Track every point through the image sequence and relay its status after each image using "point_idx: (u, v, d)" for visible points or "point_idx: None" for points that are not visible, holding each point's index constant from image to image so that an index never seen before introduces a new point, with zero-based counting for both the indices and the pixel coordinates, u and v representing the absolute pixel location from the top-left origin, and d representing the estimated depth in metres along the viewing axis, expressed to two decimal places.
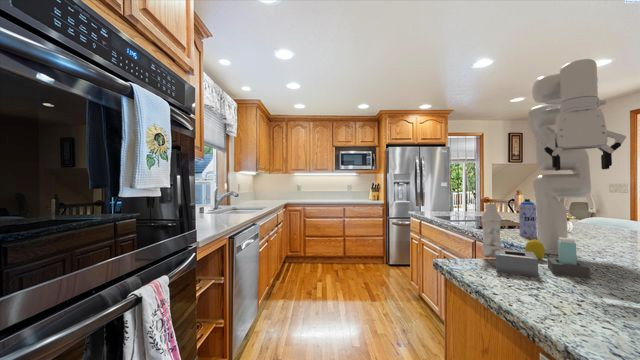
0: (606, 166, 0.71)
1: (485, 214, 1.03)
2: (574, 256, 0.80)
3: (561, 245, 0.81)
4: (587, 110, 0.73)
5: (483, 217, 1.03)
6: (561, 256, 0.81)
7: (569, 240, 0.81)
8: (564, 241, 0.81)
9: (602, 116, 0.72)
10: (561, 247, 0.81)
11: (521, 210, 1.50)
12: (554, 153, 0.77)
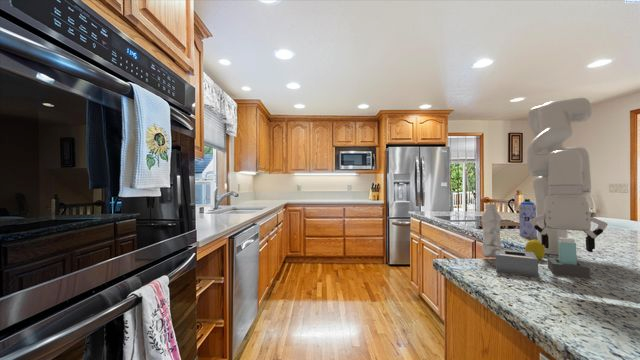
0: (590, 250, 0.78)
1: (485, 214, 1.03)
2: (574, 256, 0.80)
3: (561, 245, 0.81)
4: (572, 197, 0.80)
5: (483, 217, 1.03)
6: (561, 256, 0.81)
7: (569, 240, 0.81)
8: (564, 241, 0.81)
9: (586, 204, 0.79)
10: (561, 247, 0.81)
11: (521, 210, 1.50)
12: (543, 232, 0.84)
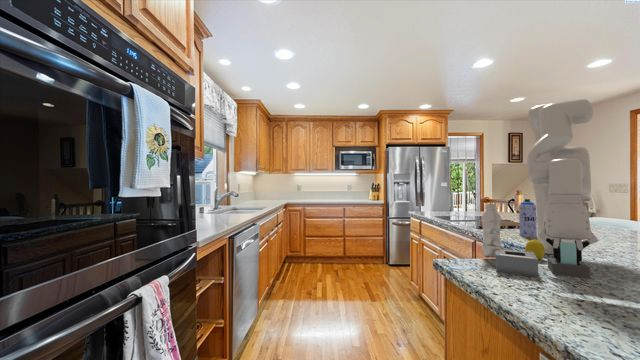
0: (577, 262, 0.80)
1: (485, 214, 1.03)
2: (574, 256, 0.80)
3: (561, 245, 0.81)
4: (573, 206, 0.80)
5: (483, 217, 1.03)
6: (561, 256, 0.81)
7: (569, 240, 0.81)
8: (564, 241, 0.81)
9: (586, 213, 0.79)
10: (561, 247, 0.81)
11: (521, 210, 1.50)
12: (555, 246, 0.83)
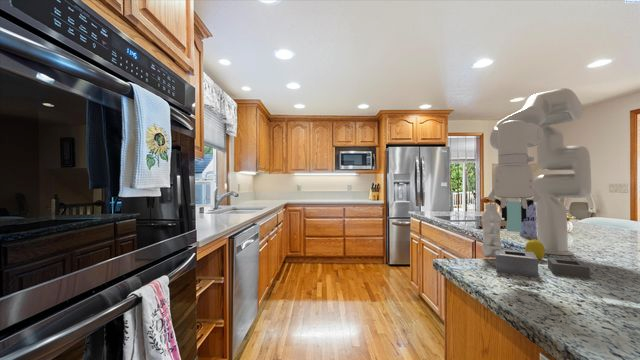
0: (521, 220, 0.82)
1: (485, 214, 1.03)
2: (519, 214, 0.83)
3: (507, 204, 0.84)
4: (518, 165, 0.83)
5: (483, 217, 1.03)
6: (507, 215, 0.84)
7: (515, 199, 0.83)
8: (510, 200, 0.84)
9: (530, 172, 0.81)
10: (507, 206, 0.84)
11: None
12: (502, 205, 0.85)
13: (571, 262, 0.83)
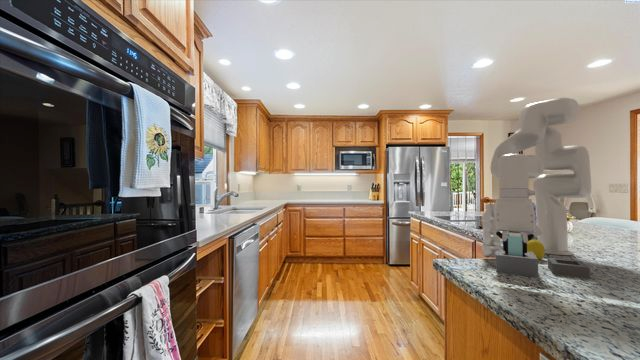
0: None
1: (485, 214, 1.03)
2: (520, 249, 0.82)
3: (509, 239, 0.84)
4: (519, 200, 0.82)
5: (483, 217, 1.03)
6: (509, 249, 0.84)
7: (516, 234, 0.83)
8: (511, 235, 0.83)
9: (531, 206, 0.81)
10: (509, 240, 0.84)
11: None
12: (504, 238, 0.85)
13: (571, 262, 0.83)
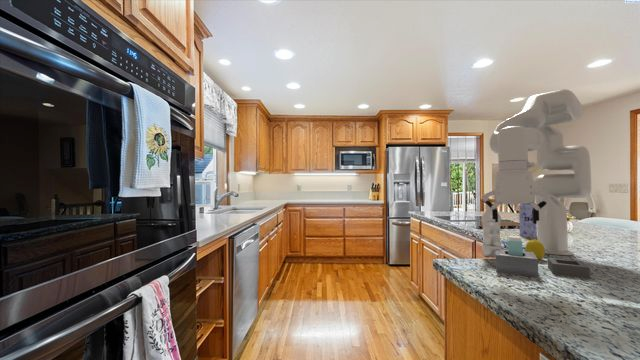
0: (534, 222, 0.82)
1: (485, 214, 1.03)
2: (520, 254, 0.83)
3: (509, 243, 0.85)
4: (518, 172, 0.83)
5: (483, 217, 1.03)
6: (509, 254, 0.85)
7: (516, 238, 0.84)
8: (512, 239, 0.84)
9: (530, 178, 0.82)
10: (509, 245, 0.85)
11: (521, 210, 1.50)
12: (493, 207, 0.87)
13: (571, 262, 0.83)
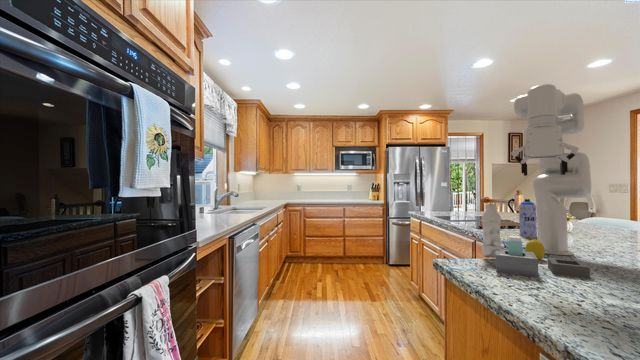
0: (563, 172, 0.87)
1: (485, 214, 1.03)
2: (520, 254, 0.83)
3: (509, 243, 0.85)
4: (548, 126, 0.89)
5: (483, 217, 1.03)
6: (509, 254, 0.85)
7: (516, 238, 0.84)
8: (512, 239, 0.84)
9: (560, 131, 0.87)
10: (509, 245, 0.85)
11: (521, 210, 1.50)
12: (522, 161, 0.93)
13: (571, 262, 0.83)
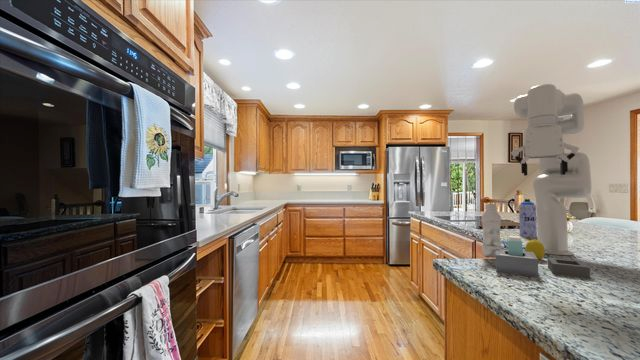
0: (563, 172, 0.87)
1: (485, 214, 1.03)
2: (520, 254, 0.83)
3: (509, 243, 0.85)
4: (548, 126, 0.89)
5: (483, 217, 1.03)
6: (509, 254, 0.85)
7: (516, 238, 0.84)
8: (512, 239, 0.84)
9: (560, 131, 0.87)
10: (509, 245, 0.85)
11: (521, 210, 1.50)
12: (522, 161, 0.93)
13: (571, 262, 0.83)
